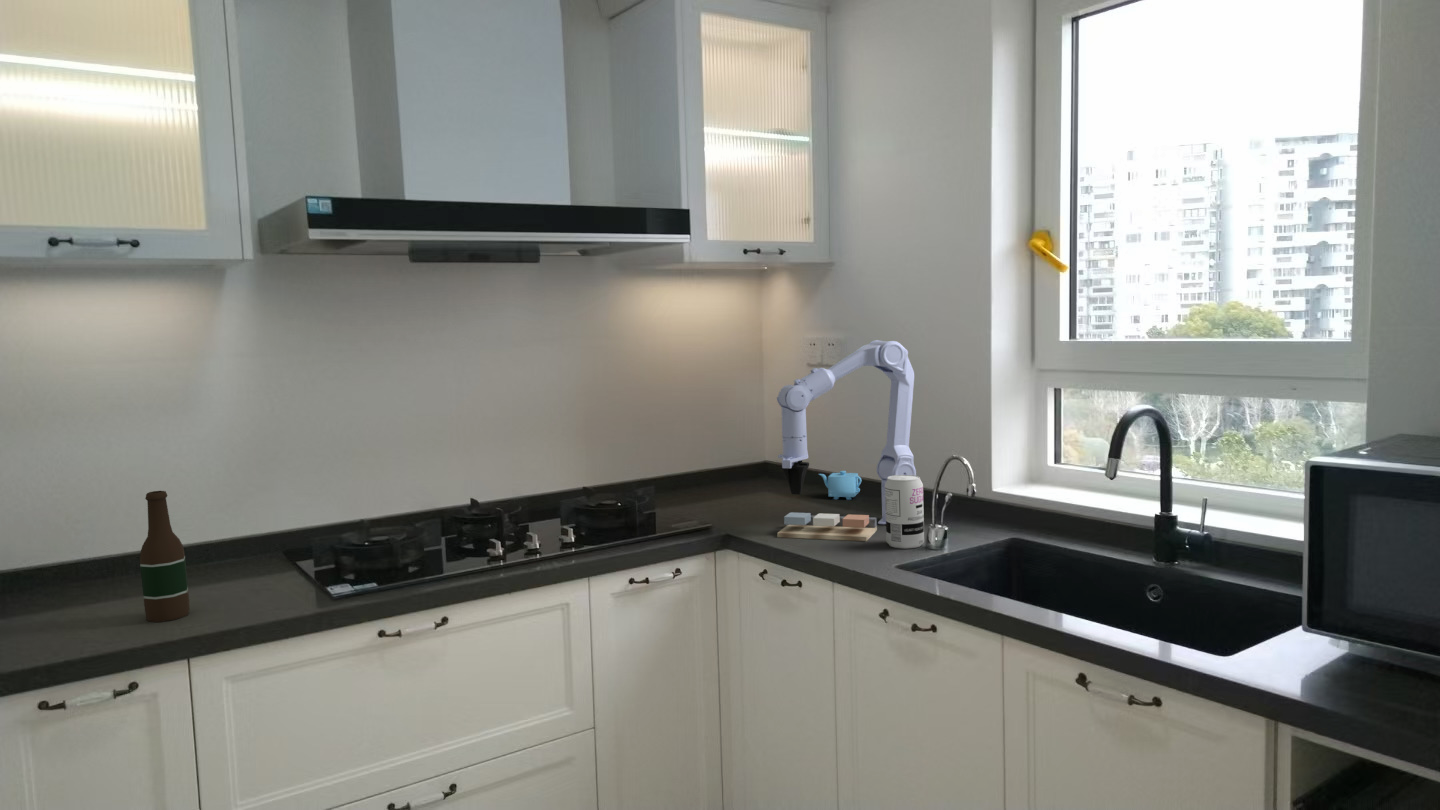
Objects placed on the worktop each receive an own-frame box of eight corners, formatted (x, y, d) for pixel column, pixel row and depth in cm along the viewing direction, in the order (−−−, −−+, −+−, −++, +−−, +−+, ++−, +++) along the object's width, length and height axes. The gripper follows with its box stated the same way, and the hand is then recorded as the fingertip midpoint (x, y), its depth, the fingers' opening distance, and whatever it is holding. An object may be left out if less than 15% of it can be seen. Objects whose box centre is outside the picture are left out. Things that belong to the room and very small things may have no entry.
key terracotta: (869, 522, 231) (868, 515, 231) (864, 527, 227) (864, 519, 227) (848, 521, 233) (847, 514, 233) (842, 526, 229) (842, 519, 228)
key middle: (839, 521, 234) (839, 514, 234) (834, 526, 229) (834, 518, 229) (819, 520, 236) (818, 513, 236) (813, 525, 231) (813, 517, 231)
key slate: (810, 520, 237) (810, 513, 236) (804, 525, 232) (804, 517, 232) (790, 519, 238) (790, 512, 238) (784, 524, 234) (784, 516, 234)
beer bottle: (199, 609, 194) (187, 487, 191) (178, 621, 186) (166, 494, 184) (158, 611, 193) (146, 489, 191) (136, 623, 186) (123, 496, 183)
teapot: (816, 499, 274) (815, 472, 273) (821, 495, 280) (820, 468, 279) (860, 500, 270) (859, 473, 269) (864, 496, 276) (863, 469, 275)
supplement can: (889, 539, 225) (887, 474, 223) (926, 540, 222) (924, 474, 221) (883, 548, 217) (881, 480, 216) (922, 549, 215) (920, 481, 213)
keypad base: (876, 530, 235) (876, 517, 234) (866, 541, 224) (866, 528, 224) (791, 526, 242) (790, 514, 242) (777, 537, 232) (776, 524, 232)
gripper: (787, 432, 241) (789, 487, 243) (768, 440, 228) (770, 499, 229) (815, 432, 239) (817, 488, 240) (798, 440, 225) (800, 500, 227)
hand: (796, 493), depth 234 cm, fingers closed
